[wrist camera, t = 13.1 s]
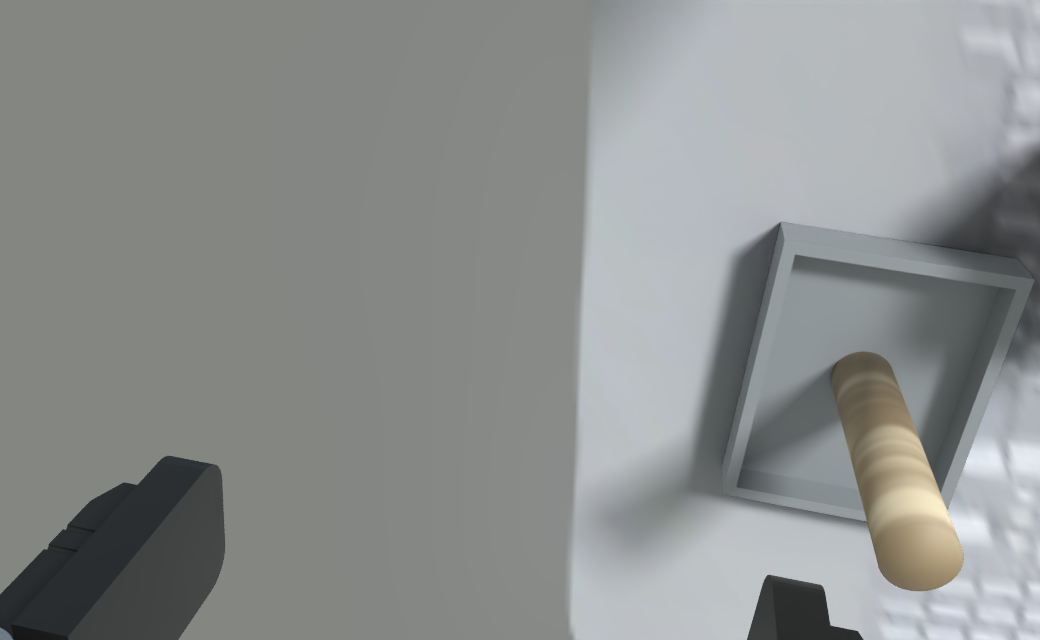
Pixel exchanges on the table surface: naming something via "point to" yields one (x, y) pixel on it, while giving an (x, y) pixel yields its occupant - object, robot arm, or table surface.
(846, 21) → the table surface
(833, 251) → the grey tray
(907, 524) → the birch dowel
